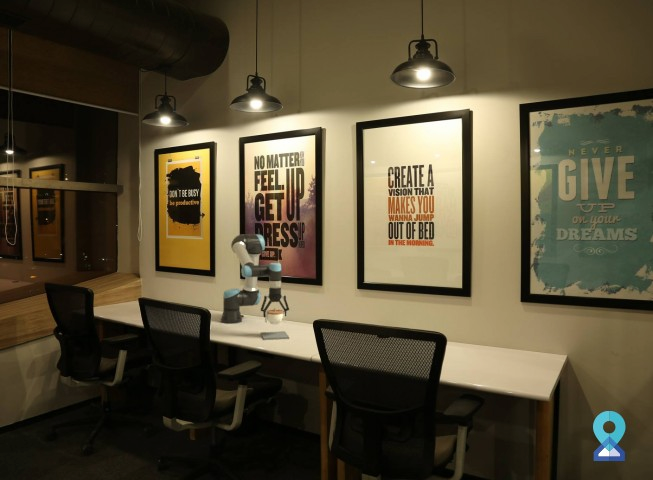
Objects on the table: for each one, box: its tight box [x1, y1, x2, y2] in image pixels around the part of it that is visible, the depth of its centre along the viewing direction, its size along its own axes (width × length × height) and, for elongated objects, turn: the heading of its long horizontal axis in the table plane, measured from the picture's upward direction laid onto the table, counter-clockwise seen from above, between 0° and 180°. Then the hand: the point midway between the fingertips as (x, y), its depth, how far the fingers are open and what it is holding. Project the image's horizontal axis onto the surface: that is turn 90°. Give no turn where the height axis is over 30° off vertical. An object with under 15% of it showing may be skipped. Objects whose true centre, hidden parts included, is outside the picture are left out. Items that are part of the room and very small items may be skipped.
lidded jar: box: [266, 308, 284, 325], centre depth 304 cm, size 11×11×9 cm
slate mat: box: [260, 330, 290, 341], centre depth 305 cm, size 16×16×1 cm
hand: (274, 321), depth 304 cm, fingers closed on lidded jar, 11 cm apart
